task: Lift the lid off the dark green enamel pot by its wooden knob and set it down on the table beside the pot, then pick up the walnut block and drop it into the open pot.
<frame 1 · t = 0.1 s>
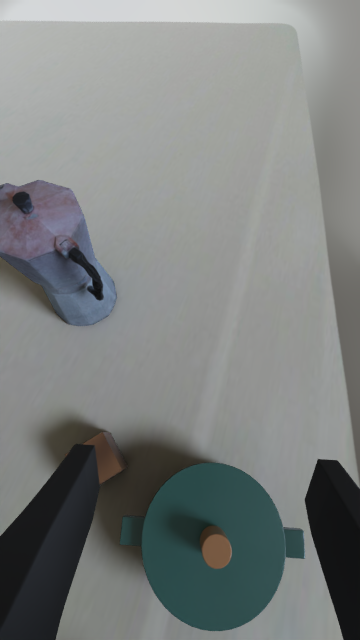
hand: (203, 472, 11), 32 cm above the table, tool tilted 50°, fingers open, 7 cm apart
block: (102, 460, 41), on the table
lid: (212, 539, 33), point 6 cm above the table, touching pot
pot: (208, 525, 38), on the table
moka pot: (89, 299, 48), on the table
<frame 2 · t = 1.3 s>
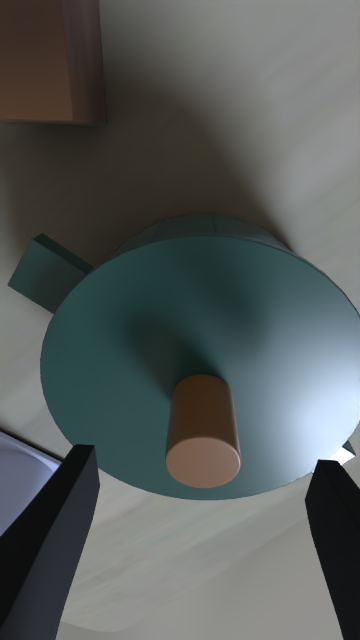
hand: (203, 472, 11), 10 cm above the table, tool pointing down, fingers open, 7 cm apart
block: (49, 62, 14), on the table
lid: (201, 390, 15), point 6 cm above the table, touching pot
pot: (201, 325, 20), on the table
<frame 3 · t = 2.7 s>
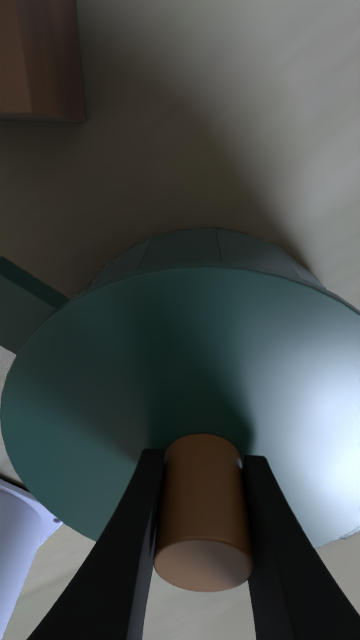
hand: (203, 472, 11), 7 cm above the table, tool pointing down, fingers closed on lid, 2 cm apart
block: (13, 42, 12), on the table
lid: (202, 447, 12), point 6 cm above the table, touching gripper, pot
pot: (201, 354, 17), on the table
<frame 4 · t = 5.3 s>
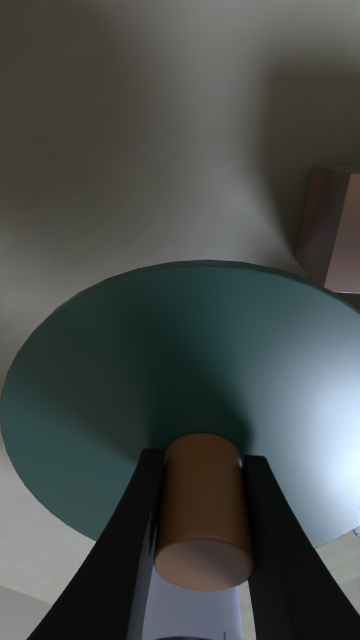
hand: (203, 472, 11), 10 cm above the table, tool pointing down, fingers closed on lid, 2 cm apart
block: (348, 216, 17), on the table
lid: (202, 447, 12), point 9 cm above the table, touching gripper
when the fingers open (2 cm above the table, at t = 7.9 s): lid stays where it is, point 1 cm above the table.
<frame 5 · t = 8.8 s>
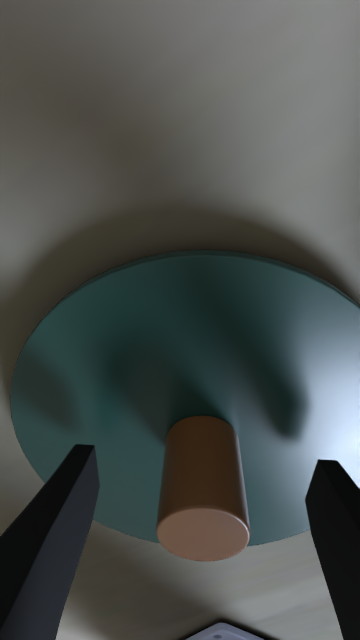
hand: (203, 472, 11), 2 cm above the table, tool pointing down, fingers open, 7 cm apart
lid: (202, 430, 13), point 1 cm above the table
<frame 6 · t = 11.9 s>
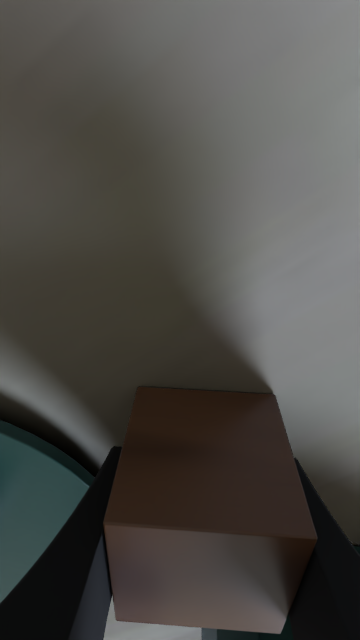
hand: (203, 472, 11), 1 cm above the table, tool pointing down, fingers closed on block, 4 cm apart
block: (201, 439, 12), on the table, touching gripper
pot: (323, 613, 18), on the table
when the fingers open (6 cm above the table, at t = 16.8 s): block drops 5 cm, resting on pot.
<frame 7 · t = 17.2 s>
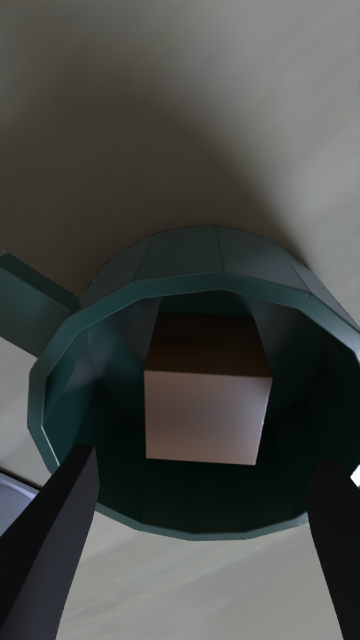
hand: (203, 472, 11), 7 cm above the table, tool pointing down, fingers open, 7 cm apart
block: (202, 354, 17), resting on pot
pot: (202, 350, 17), on the table
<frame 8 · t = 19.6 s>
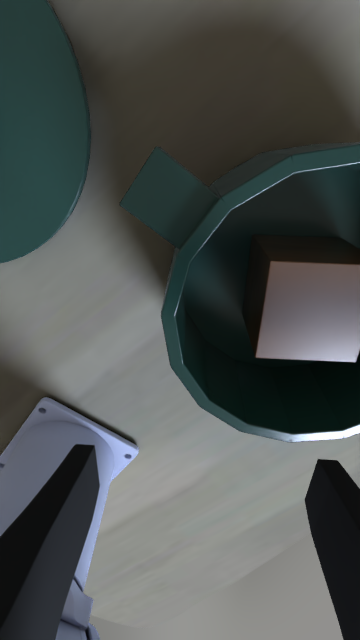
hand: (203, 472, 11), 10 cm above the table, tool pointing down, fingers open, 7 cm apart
block: (288, 278, 18), resting on pot
pot: (286, 275, 19), on the table
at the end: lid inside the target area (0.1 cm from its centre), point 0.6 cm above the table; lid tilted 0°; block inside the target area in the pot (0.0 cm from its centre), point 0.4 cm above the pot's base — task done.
